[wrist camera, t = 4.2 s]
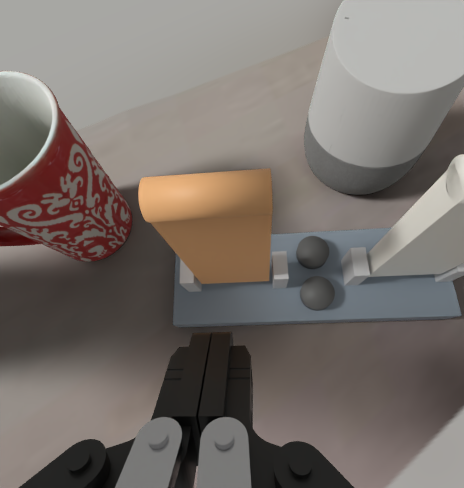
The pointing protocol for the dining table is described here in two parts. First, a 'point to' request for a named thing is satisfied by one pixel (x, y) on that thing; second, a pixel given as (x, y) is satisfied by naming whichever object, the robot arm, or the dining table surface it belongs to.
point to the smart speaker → (383, 90)
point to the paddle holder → (316, 287)
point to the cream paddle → (426, 231)
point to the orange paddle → (214, 221)
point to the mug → (53, 178)
